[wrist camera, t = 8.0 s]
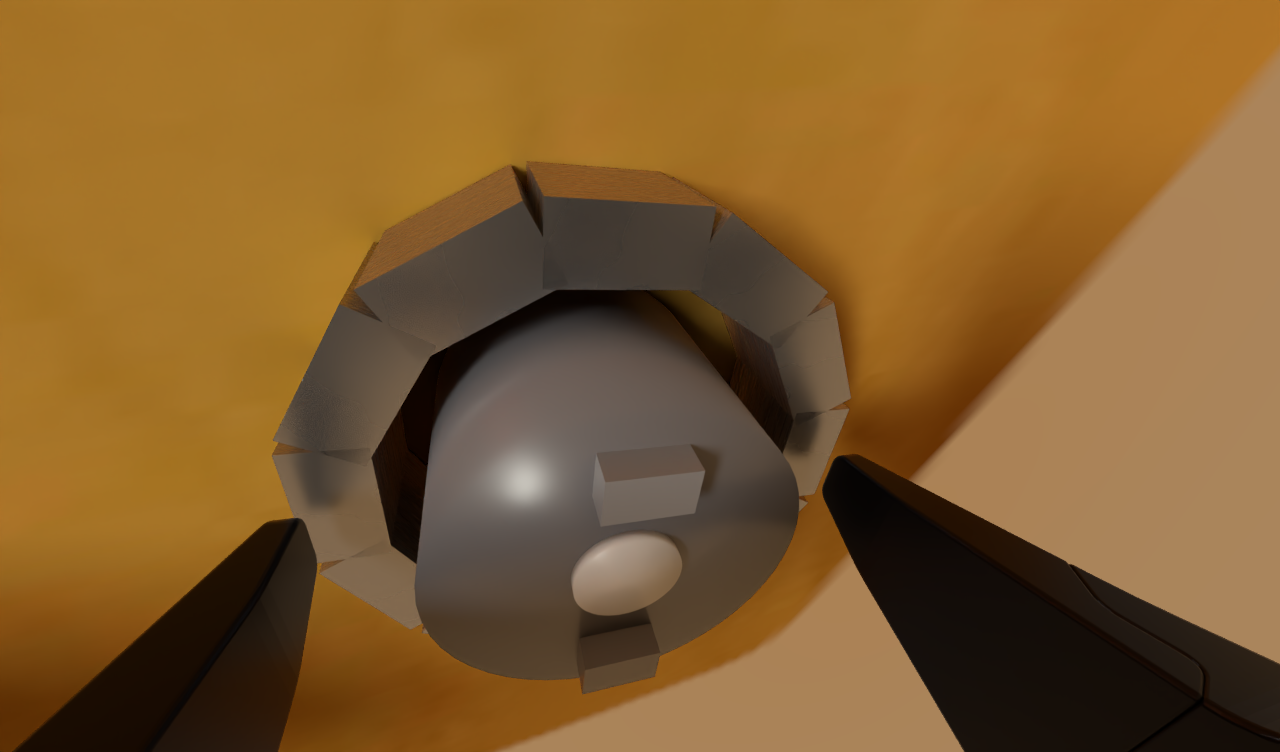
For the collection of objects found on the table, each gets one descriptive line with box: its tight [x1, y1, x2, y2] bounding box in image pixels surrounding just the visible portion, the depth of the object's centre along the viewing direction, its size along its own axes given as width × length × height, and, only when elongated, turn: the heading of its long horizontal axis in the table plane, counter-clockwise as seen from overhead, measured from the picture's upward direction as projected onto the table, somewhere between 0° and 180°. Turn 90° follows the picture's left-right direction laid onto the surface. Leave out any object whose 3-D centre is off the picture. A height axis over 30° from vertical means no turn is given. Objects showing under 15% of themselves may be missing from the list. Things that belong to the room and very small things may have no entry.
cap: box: [414, 290, 799, 694], centre depth 9 cm, size 6×6×5 cm
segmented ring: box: [272, 161, 851, 634], centre depth 10 cm, size 10×10×2 cm
